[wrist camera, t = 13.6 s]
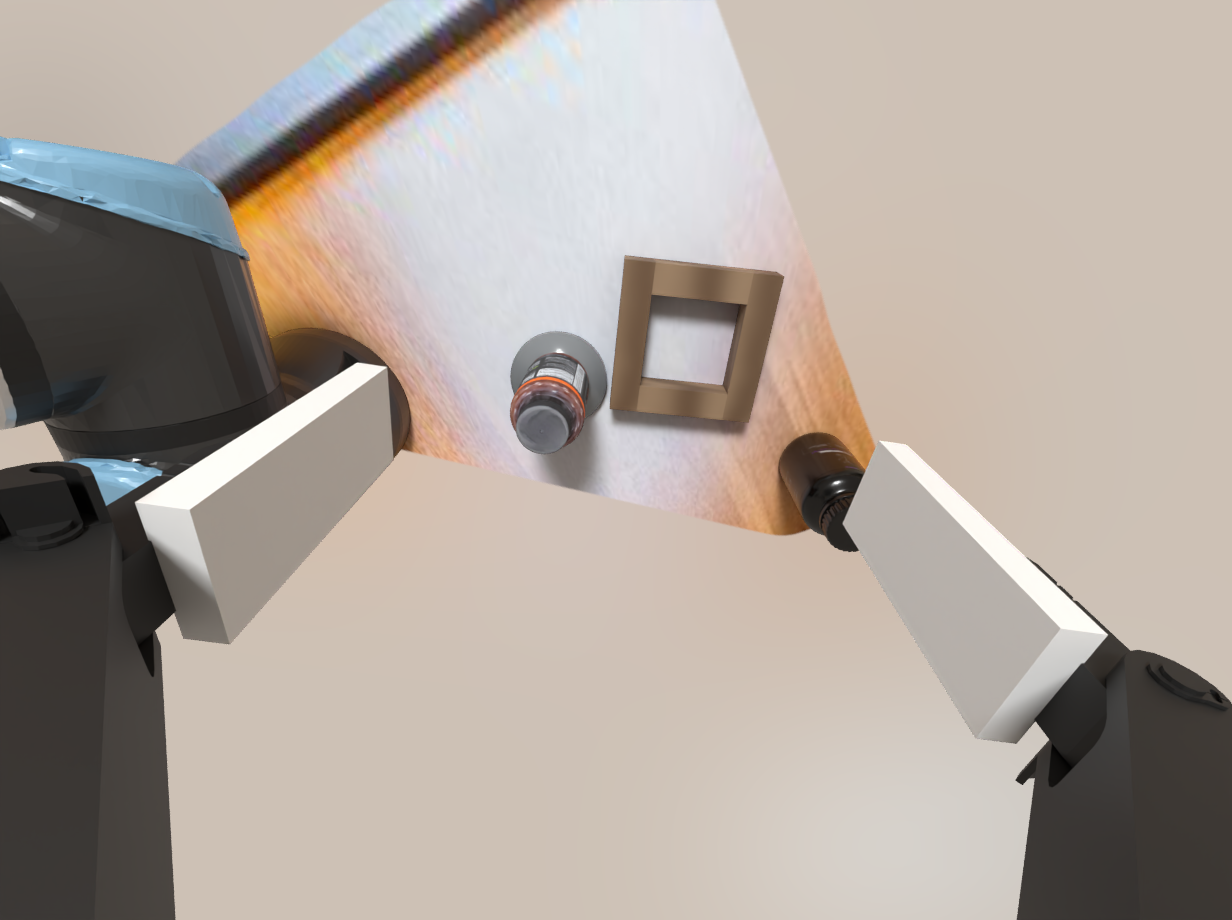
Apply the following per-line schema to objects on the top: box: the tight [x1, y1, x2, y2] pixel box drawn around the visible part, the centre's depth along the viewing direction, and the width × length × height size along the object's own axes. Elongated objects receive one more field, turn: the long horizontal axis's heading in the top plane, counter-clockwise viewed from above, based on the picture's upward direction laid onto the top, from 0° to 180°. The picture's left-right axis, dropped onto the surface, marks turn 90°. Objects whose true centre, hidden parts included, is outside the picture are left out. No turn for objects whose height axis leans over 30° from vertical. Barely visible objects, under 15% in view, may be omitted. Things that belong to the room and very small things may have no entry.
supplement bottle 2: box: [779, 432, 866, 552], centre depth 47 cm, size 7×7×12 cm
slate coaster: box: [511, 331, 607, 419], centre depth 48 cm, size 9×9×1 cm
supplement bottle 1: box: [510, 352, 589, 454], centre depth 43 cm, size 6×6×11 cm
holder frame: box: [610, 256, 784, 423], centre depth 45 cm, size 13×13×2 cm
